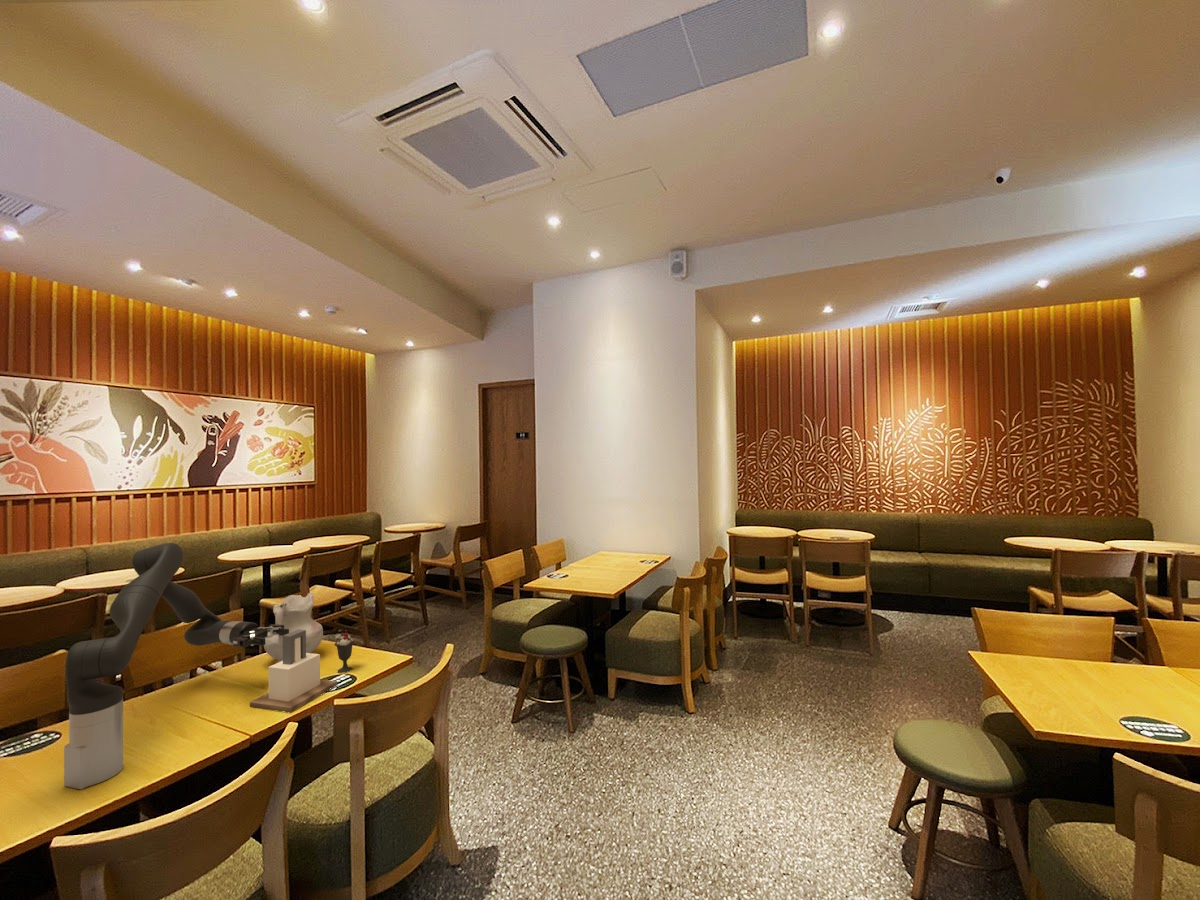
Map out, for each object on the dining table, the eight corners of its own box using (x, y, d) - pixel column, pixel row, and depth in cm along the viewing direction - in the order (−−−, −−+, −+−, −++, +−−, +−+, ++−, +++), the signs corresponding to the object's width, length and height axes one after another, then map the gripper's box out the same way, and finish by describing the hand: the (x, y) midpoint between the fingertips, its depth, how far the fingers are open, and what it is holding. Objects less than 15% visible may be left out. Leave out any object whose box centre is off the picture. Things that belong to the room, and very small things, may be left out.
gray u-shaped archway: (290, 664, 154) (289, 636, 154) (282, 663, 155) (282, 635, 155) (306, 657, 160) (305, 630, 160) (299, 656, 161) (298, 629, 161)
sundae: (346, 674, 173) (346, 632, 173) (330, 673, 174) (330, 631, 174) (359, 666, 179) (358, 626, 179) (343, 665, 180) (343, 625, 181)
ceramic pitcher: (315, 671, 178) (320, 603, 180) (252, 677, 171) (258, 606, 173) (324, 650, 198) (329, 589, 200) (268, 654, 191) (274, 591, 193)
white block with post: (288, 701, 151) (288, 645, 151) (268, 698, 153) (268, 643, 153) (320, 684, 162) (319, 631, 163) (301, 681, 164) (300, 630, 165)
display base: (290, 712, 147) (290, 707, 147) (249, 706, 151) (249, 702, 151) (337, 685, 164) (337, 681, 164) (299, 681, 168) (299, 676, 168)
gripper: (217, 629, 157) (256, 633, 153) (259, 615, 171) (295, 618, 167) (217, 652, 157) (256, 657, 153) (259, 636, 171) (295, 640, 167)
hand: (276, 637), depth 160 cm, fingers open, 8 cm apart
